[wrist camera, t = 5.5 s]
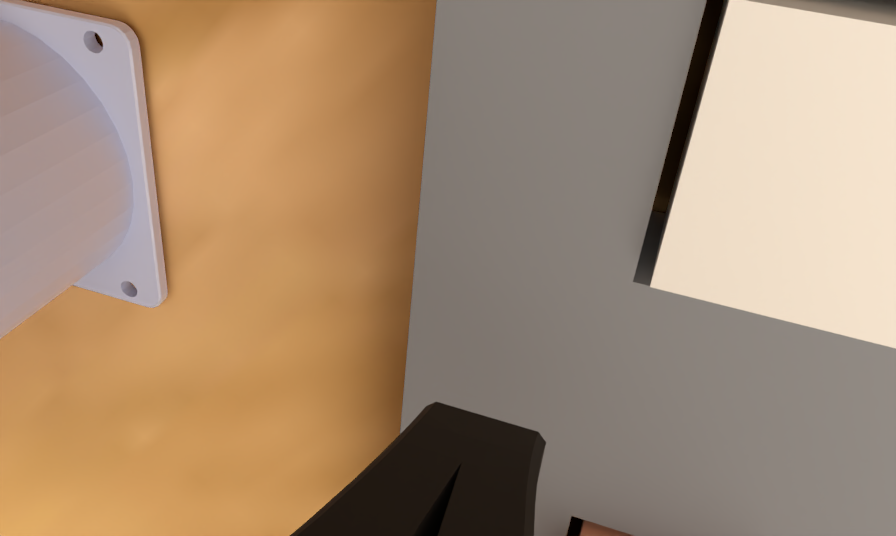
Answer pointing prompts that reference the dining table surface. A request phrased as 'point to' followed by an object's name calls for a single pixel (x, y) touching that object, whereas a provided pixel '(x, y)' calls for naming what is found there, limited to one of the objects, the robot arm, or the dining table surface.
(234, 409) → the dining table surface
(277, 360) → the dining table surface
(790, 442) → the key console
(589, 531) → the terracotta key
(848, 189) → the white key
